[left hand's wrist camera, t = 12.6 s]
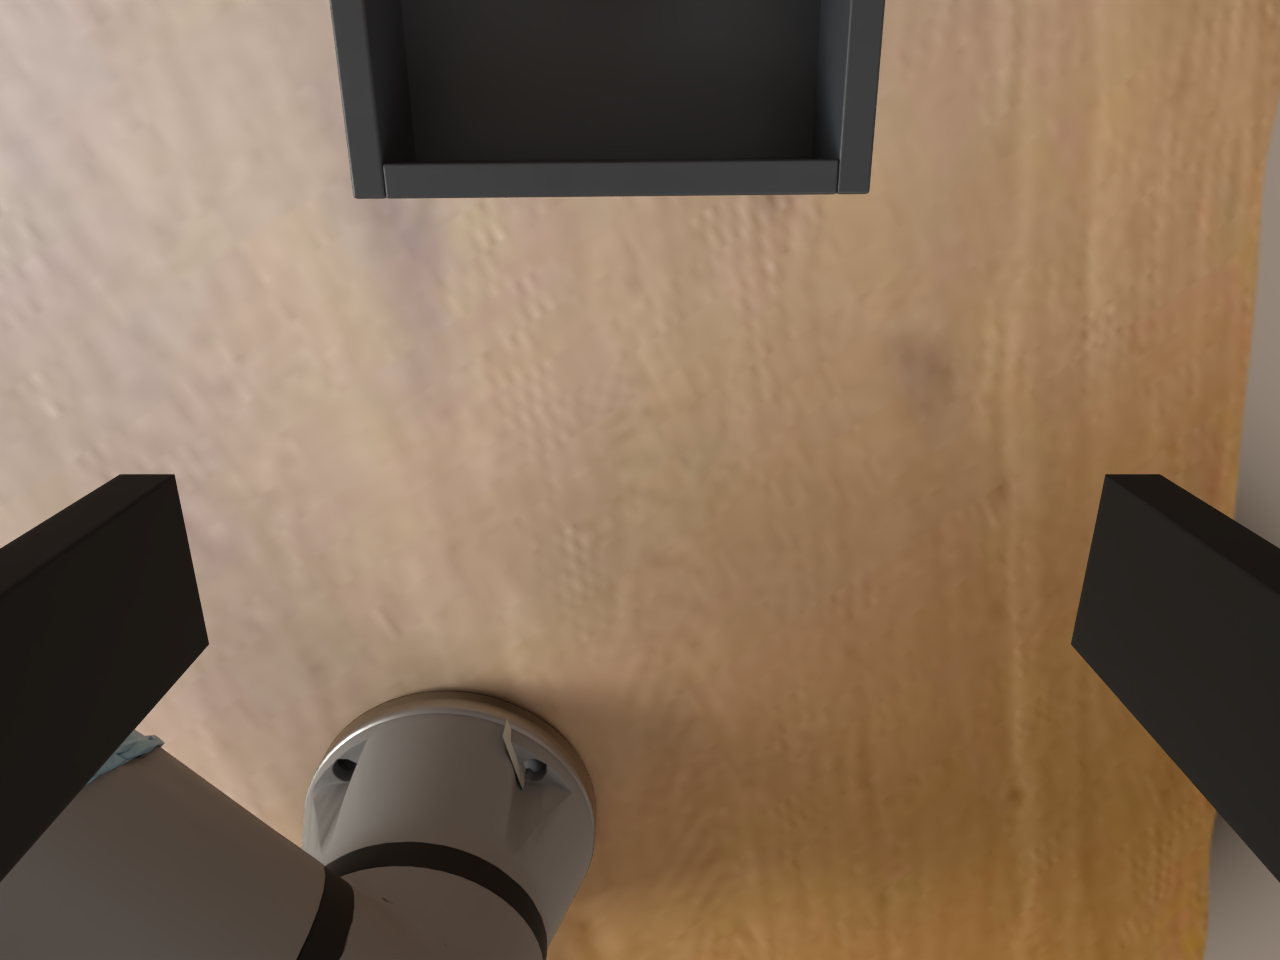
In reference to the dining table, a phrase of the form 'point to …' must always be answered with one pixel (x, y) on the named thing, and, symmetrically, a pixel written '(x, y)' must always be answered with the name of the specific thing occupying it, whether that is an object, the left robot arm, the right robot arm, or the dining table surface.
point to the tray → (608, 96)
